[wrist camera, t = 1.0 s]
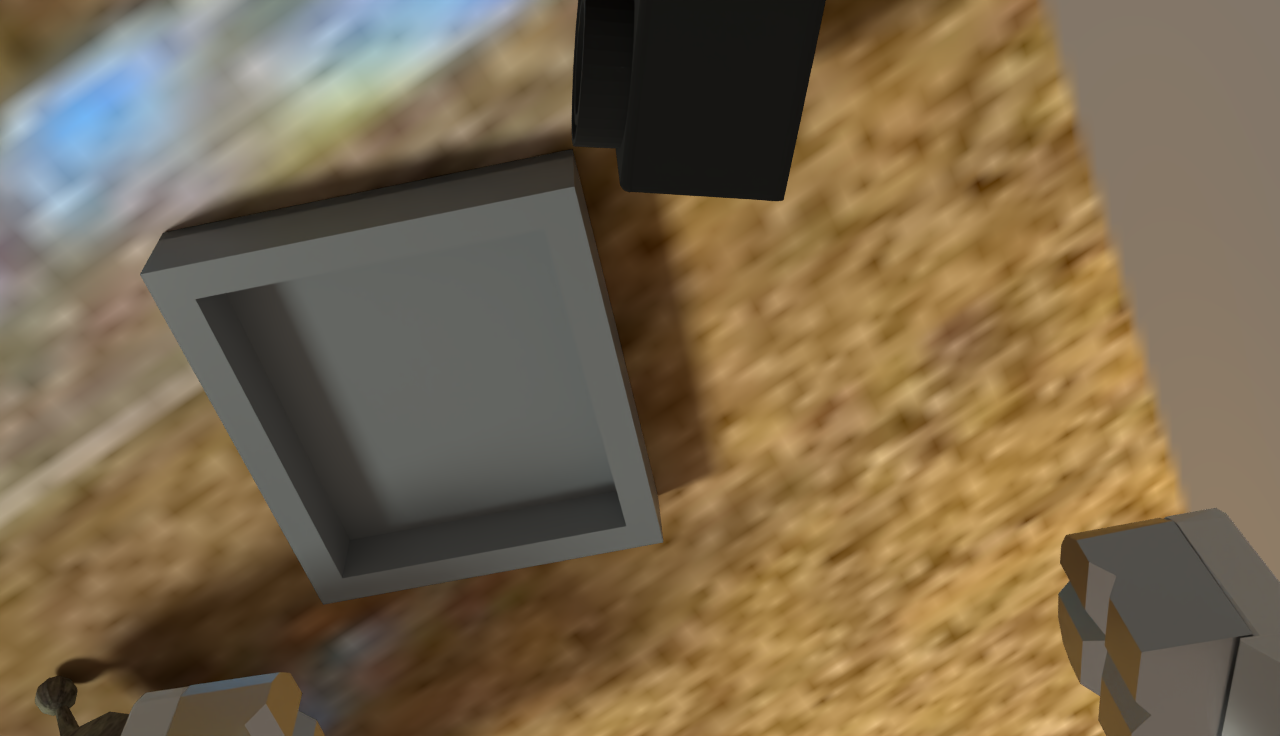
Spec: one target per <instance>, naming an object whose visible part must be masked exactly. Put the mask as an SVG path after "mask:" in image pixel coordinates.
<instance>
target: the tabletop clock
mask: <svg viewBox="0 0 1280 736" xmlns="http://www.w3.org/2000/svg"><path fill="white" fill-rule="evenodd" d="M76 696H77V687H76V686H75V685H74V683H73V682H72V680H71V679H69V678H66V677H62V676H56V677H52V678H48V679H47V680H46V681H45V682H44V683H42V684H41V685H40V686H39V687H38V689H37V692H36V697H35V704H36V705H37V706H38V708H39V709H40V710H41V712H43V713H45V714H49V715H53V716H54V715H56V718H57V722H58V727H59V731H60V736H121V734H122V732H123V729H124V727H125V724H126V722H127V719H128V717H129V715H130V714H123V713H116V712H108V713H106V714H104V715H102V716H100V717H98V718H96V719H94V720H92V721H90V722H88V723H86V724H84V725H82V726H80V727H79V726H78V724H77V722H76V720H75V718H74V716H73V714H72V712H71V711H70V709H69V708H71V707H72V706H73V705H74V704H75V700H76Z"/></svg>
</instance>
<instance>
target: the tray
mask: <svg viewBox="0 0 1280 736" xmlns="http://www.w3.org/2000/svg"><path fill="white" fill-rule="evenodd" d="M140 275H141V277H142V279H143V281H144V283H145V284H146V286H147V288H148V290H149V292H150V293H151V295H152V297H153V299H154V301H155V302H156V304H157V306H158V308H159V310H160V311H161V313H162V315H163V317H164V319H165V320H166V322H167V324H168V326H169V328H170V329H171V331H172V333H173V335H174V337H175V338H176V340H177V342H178V344H179V346H180V347H181V349H182V351H183V353H184V355H185V356H186V358H187V360H188V362H189V364H190V365H191V367H192V369H193V371H194V373H195V374H196V376H197V378H198V380H199V382H200V383H201V385H202V387H203V389H204V391H205V392H206V394H207V396H208V398H209V400H210V401H211V403H212V405H213V407H214V409H215V410H216V412H217V414H218V416H219V418H220V419H221V421H222V423H223V425H224V427H225V429H226V430H227V432H228V434H229V436H230V438H231V439H232V441H233V443H234V445H235V447H236V448H237V450H238V452H239V454H240V456H241V457H242V459H243V461H244V463H245V465H246V466H247V468H248V470H249V472H250V474H251V475H252V477H253V479H254V481H255V483H256V484H257V486H258V488H259V490H260V492H261V493H262V495H263V497H264V499H265V501H266V502H267V504H268V506H269V508H270V510H271V511H272V513H273V515H274V517H275V519H276V520H277V522H278V524H279V526H280V528H281V529H282V531H283V533H284V535H285V537H286V538H287V540H288V542H289V544H290V546H291V547H292V549H293V551H294V553H295V555H296V556H297V558H298V560H299V562H300V564H301V565H302V567H303V569H304V571H305V573H306V574H307V576H308V578H309V580H310V582H311V584H312V585H313V587H314V589H315V591H316V593H317V594H318V596H319V598H320V600H321V602H322V603H323V604H329V603H334V602H340V601H345V600H351V599H356V598H362V597H367V596H373V595H378V594H384V593H389V592H394V591H400V590H405V589H411V588H416V587H422V586H427V585H433V584H438V583H444V582H449V581H455V580H460V579H466V578H471V577H476V576H482V575H487V574H493V573H498V572H504V571H509V570H515V569H520V568H526V567H531V566H537V565H542V564H548V563H553V562H558V561H564V560H569V559H575V558H580V557H586V556H591V555H597V554H602V553H608V552H613V551H619V550H624V549H630V548H635V547H640V546H646V545H651V544H657V543H662V542H663V534H662V526H661V518H660V509H659V501H658V495H657V491H656V487H655V483H654V478H653V474H652V470H651V466H650V462H649V458H648V454H647V450H646V446H645V442H644V438H643V434H642V430H641V426H640V422H639V417H638V413H637V409H636V405H635V401H634V397H633V393H632V389H631V385H630V381H629V377H628V373H627V369H626V365H625V361H624V356H623V352H622V348H621V344H620V340H619V336H618V332H617V328H616V324H615V320H614V316H613V312H612V308H611V304H610V300H609V296H608V291H607V287H606V283H605V279H604V275H603V271H602V267H601V263H600V259H599V255H598V251H597V247H596V243H595V239H594V235H593V230H592V226H591V222H590V218H589V214H588V210H587V206H586V202H585V198H584V194H583V190H582V186H581V182H580V178H579V174H578V169H577V165H576V161H575V157H574V153H573V149H571V150H566V151H561V152H556V153H551V154H546V155H541V156H537V157H532V158H527V159H522V160H517V161H512V162H507V163H502V164H497V165H493V166H488V167H483V168H478V169H473V170H468V171H463V172H458V173H453V174H448V175H444V176H439V177H434V178H429V179H424V180H419V181H414V182H409V183H404V184H400V185H395V186H390V187H385V188H380V189H375V190H370V191H365V192H360V193H355V194H351V195H346V196H341V197H336V198H331V199H326V200H321V201H316V202H311V203H307V204H302V205H297V206H292V207H287V208H282V209H277V210H272V211H267V212H263V213H258V214H253V215H248V216H243V217H238V218H233V219H228V220H223V221H218V222H214V223H209V224H204V225H199V226H194V227H189V228H184V229H179V230H174V231H170V232H165V233H163V234H162V236H161V237H160V239H159V241H158V243H157V245H156V246H155V248H154V250H153V252H152V254H151V256H150V257H149V259H148V261H147V263H146V265H145V266H144V268H143V270H142V272H141V274H140Z"/></svg>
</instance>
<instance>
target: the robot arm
mask: <svg viewBox="0 0 1280 736" xmlns="http://www.w3.org/2000/svg"><path fill="white" fill-rule="evenodd" d="M1060 564H1061V565H1062V567H1063V569H1064V571H1065V573H1066V575H1067V577H1068V579H1069V582H1068V583H1067V585H1066V586H1065V587H1064V588H1063V589H1062V590H1061V591H1060V593H1059V594H1058V619H1059V624H1060V629H1061V635H1062V640H1063V644H1064V647H1065V650H1066V652H1067V655H1068V658H1069V661H1070V664H1071V666H1072V668H1073V670H1074V672H1075V674H1076V676H1077V678H1078V680H1079V682H1080V684H1082V685H1083V686H1085V687H1086V688H1088V689H1090V690H1091V691H1093V692H1094V693H1096V694H1097V695H1099V696H1100V705H1099V718H1098V720H1099V722H1100V724H1101V726H1102V728H1103V730H1104V732H1105V734H1106V736H1280V582H1279V581H1278V579H1277V578H1276V577H1275V576H1274V574H1273V573H1272V572H1271V570H1270V569H1269V568H1268V567H1267V565H1266V564H1265V563H1264V561H1263V560H1262V559H1261V558H1260V556H1259V555H1258V554H1257V552H1256V551H1255V550H1254V549H1253V547H1252V546H1251V545H1250V543H1249V542H1248V541H1247V540H1246V538H1245V537H1244V536H1243V534H1242V533H1241V532H1240V531H1239V529H1238V528H1237V527H1236V526H1235V524H1234V523H1233V522H1232V520H1231V519H1230V518H1229V516H1228V515H1227V514H1226V513H1224V512H1222V511H1221V510H1219V509H1217V508H1213V509H1207V510H1201V511H1195V512H1190V513H1184V514H1179V515H1173V516H1168V517H1165V518H1164V519H1163V518H1156V519H1150V520H1145V521H1139V522H1134V523H1129V524H1123V525H1118V526H1112V527H1107V528H1101V529H1096V530H1091V531H1085V532H1080V533H1074V534H1069V535H1066V536H1065V538H1064V540H1063V542H1062V544H1061V557H1060ZM301 696H302V692H301V690H300V689H299V687H298V685H297V684H296V682H295V680H294V679H293V677H292V675H291V674H290V673H284V672H278V673H271V674H264V675H257V676H250V677H244V678H237V679H230V680H223V681H216V682H210V683H203V684H196V685H191V686H188V687H181V688H174V689H168V690H161V691H154V692H147V693H145V694H144V695H143V696H142V697H141V698H140V699H139V700H138V701H137V702H136V703H135V704H134V706H133V707H132V710H131V712H130V715H129V717H128V719H127V722H126V724H125V727H124V729H123V732H122V734H121V736H325V735H324V733H323V731H322V729H321V727H320V725H319V723H318V721H317V720H315V719H313V718H312V717H310V716H308V715H306V714H304V713H302V712H300V711H298V709H299V705H300V701H301Z"/></svg>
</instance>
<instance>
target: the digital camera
mask: <svg viewBox="0 0 1280 736" xmlns="http://www.w3.org/2000/svg"><path fill="white" fill-rule="evenodd" d="M825 1H826V0H578V9H577V21H576V33H575V49H574V65H573V89H572V143H573V146H576V147H596V148H616V155H617V163H618V172H619V180H620V186H621V187H622V189H624V190H625V191H628V192H643V193H659V194H674V195H690V196H706V197H722V198H738V199H754V200H767V201H782V200H784V195H785V191H786V186H787V181H788V177H789V172H790V167H791V163H792V158H793V153H794V149H795V144H796V139H797V135H798V130H799V125H800V121H801V116H802V111H803V106H804V102H805V97H806V92H807V87H808V83H809V78H810V73H811V68H812V63H813V59H814V54H815V49H816V44H817V40H818V35H819V30H820V25H821V21H822V16H823V11H824V6H825Z"/></svg>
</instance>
